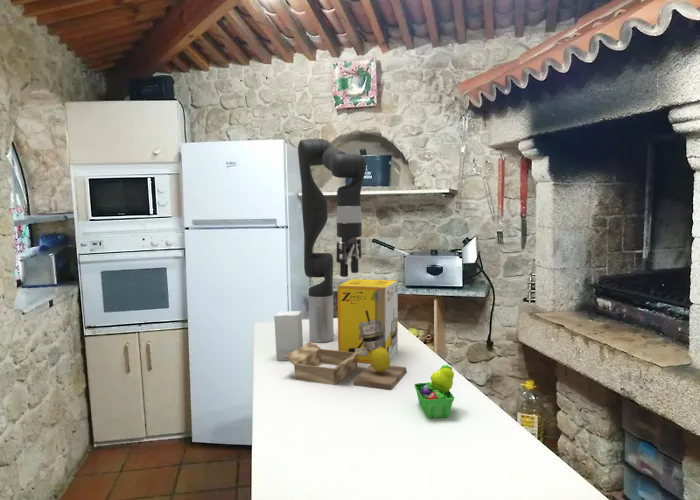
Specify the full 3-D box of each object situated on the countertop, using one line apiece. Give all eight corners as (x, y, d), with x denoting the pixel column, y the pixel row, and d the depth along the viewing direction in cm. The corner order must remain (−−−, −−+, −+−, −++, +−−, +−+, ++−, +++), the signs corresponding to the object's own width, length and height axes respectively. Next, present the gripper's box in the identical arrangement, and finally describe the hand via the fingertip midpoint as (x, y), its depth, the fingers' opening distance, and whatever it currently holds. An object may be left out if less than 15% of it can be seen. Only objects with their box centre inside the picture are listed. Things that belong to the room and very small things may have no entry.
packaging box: (386, 365, 158) (385, 287, 156) (338, 360, 164) (337, 285, 162) (397, 351, 174) (397, 280, 172) (353, 347, 179) (353, 278, 177)
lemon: (392, 371, 148) (392, 344, 147) (387, 377, 143) (387, 350, 142) (374, 369, 150) (374, 343, 149) (368, 375, 144) (368, 348, 144)
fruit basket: (413, 402, 128) (413, 359, 127) (446, 400, 129) (447, 358, 128) (423, 421, 117) (423, 374, 116) (460, 419, 118) (460, 372, 117)
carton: (310, 361, 163) (310, 341, 163) (367, 367, 156) (366, 346, 155) (284, 377, 147) (284, 355, 147) (346, 386, 140) (345, 363, 139)
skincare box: (303, 355, 170) (302, 310, 168) (299, 361, 163) (299, 314, 162) (279, 355, 170) (278, 310, 169) (275, 361, 164) (273, 314, 162)
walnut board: (372, 368, 156) (372, 363, 155) (406, 372, 151) (406, 367, 151) (353, 385, 141) (353, 379, 141) (390, 390, 137) (390, 384, 137)
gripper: (346, 220, 157) (347, 271, 158) (327, 222, 144) (328, 277, 145) (368, 220, 154) (369, 272, 156) (351, 222, 141) (352, 278, 143)
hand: (349, 274), depth 150 cm, fingers open, 8 cm apart
